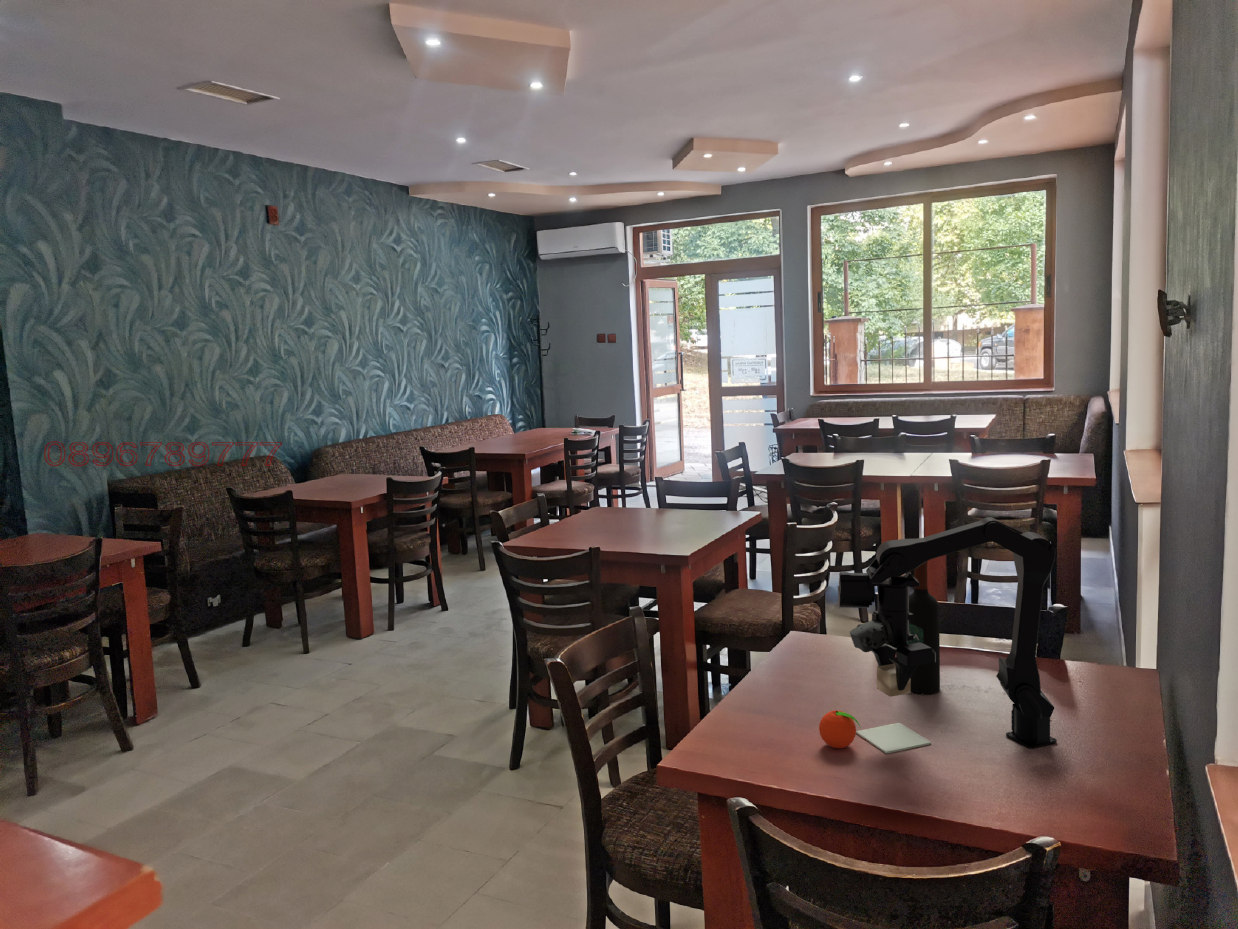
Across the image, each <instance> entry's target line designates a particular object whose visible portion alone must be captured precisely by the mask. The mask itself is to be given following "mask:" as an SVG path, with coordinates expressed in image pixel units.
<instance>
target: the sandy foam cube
mask: <svg viewBox="0 0 1238 929" xmlns="http://www.w3.org/2000/svg"><path fill="white" fill-rule="evenodd" d="M876 689H877V690H879V691H880V692H882V693H883V694H885V695H887V696H888V697H890V698H891V697H897V696H902V695H909V694H912V693H911V681H910V679H909V681H908V683H907V685H906V687H905V689H904V690H901V691H899V690H898V686H897V679H896V668H895V664H890V665H883V666H878V665H877V666H876Z"/></svg>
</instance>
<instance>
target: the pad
mask: <svg viewBox="0 0 1238 929" xmlns="http://www.w3.org/2000/svg"><path fill="white" fill-rule="evenodd" d="M856 735H857V736H859V737H861V738H862V739H863V740H865V739H866V740H865V741H867V743H870V744H871V745H872V746H873V747H875V748H877V749H878V750H879V751H881V752H883V753H884V754H891V753H896V752H901V751H906V750H909V749H915V748H919V747H924V746H928V745H929V746H930V745H932V741H930V740H929V739H927V738H925V737H924V736H922V735H920V734H918V732H915V731H914V730H912V729H910V728H909V727H907V726H905V725H904V724H902V723H900V722H896V723H891V724H890V723H889V724H886V725H885V724H884V725H880V726H876V727H870V728H866V729H860V730H856Z"/></svg>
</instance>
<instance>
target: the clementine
mask: <svg viewBox="0 0 1238 929" xmlns="http://www.w3.org/2000/svg"><path fill="white" fill-rule="evenodd" d="M855 723H857V724H858V726H859V728H860V729H861V724H860V722H858V720H857V719H856V718H855V717H854V716H852V715H851V714H849V713H847V712H844V711H843V710H836V709H835V710H831V711H828V712H826V713H825V714H824V715H823V716H822V717H821V720H820V722H819V724H818V729H819V730H818V731H819V735H820V737H821V739H822V740H823V743H825V744H826V745H828V746H829V747H832V748H833V749H844V748H846V747H848V746H850V745H851V744H852V743H853V742H854V740H855V737H856V735H857V734H856V731H857V726H856V724H855Z"/></svg>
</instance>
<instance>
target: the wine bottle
mask: <svg viewBox="0 0 1238 929" xmlns="http://www.w3.org/2000/svg"><path fill="white" fill-rule="evenodd" d="M913 577H915V578H916V579H917V580H918V582H919V583H920V586H918V587H914V588H913V591H912V593H911V594H910V593H909V612H910V613H912V614H914V619H913V620H909V633H910V634H912V635H914V640H911V641H908V643H907V644H913V643H920V642H921V643H923V644H925V645H927V646H929V647H931V648H932V649H933V650H934V651H935V652H936V662H935V663H930V664H924V665H918V666H917V667H916V669H915V670H914V672H913V674H912V676H911V677H910V681H911V693H910V694H915V695H919V696H920V695H921V696H922V695H923V696H930V695H935V694H939V692H940V691H941V660H940V659H941V658H940V657H941V656H940V655H941V654H940V651H941V650H940V649H941V648H940V646H941V645H940V638H941V637H940V603H939V602H938V600H937V598H936V597H935V596H933V595H932V594H931V593H930V592H929V589H928V561H926V562H925V563H923V564H922V565H920V566H919V567H918V568H916V569H914V570H913Z"/></svg>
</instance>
